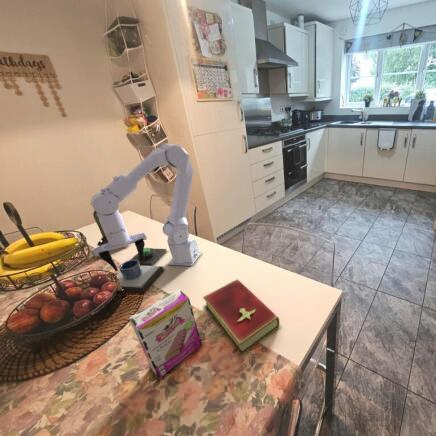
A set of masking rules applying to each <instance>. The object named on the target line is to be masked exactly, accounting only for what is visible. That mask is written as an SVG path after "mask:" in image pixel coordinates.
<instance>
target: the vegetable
mask: <svg viewBox="0 0 436 436" xmlns="http://www.w3.org/2000/svg"><path fill="white" fill-rule="evenodd" d="M92 208H93V210H94V211H92V212H93V213H92V216H93V219H94V221H95V223H96V225H97V227H98V229H99V231H100V234H101V236H102V237H103V236H104V235H105V233H104V231H103V228H102V226H101V224H100V222H99V217H98V216H97V212H96V210H95V209H94V207H93V206H92Z"/></svg>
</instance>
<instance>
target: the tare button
mask: <svg viewBox="0 0 436 436" xmlns="http://www.w3.org/2000/svg"><path fill="white" fill-rule="evenodd" d="M149 248H150V247H144V249H143V255H146V254H148V253H150V249H149Z"/></svg>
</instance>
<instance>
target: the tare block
mask: <svg viewBox="0 0 436 436" xmlns="http://www.w3.org/2000/svg"><path fill="white" fill-rule="evenodd" d="M148 248H149V249H150V253H148V254H146V255H143V260H144V261H141V260H140V258H139V254H138V253H137V254H135V255H134V256H133V257H132V258H130V260H138V261H139V263H140V266H155V264H156V263H158V261H159V260H160V259H161V258H162V257H163V256H164V255H165V254H166V253H167V251H168V250H167V249H166V248H153V247H148Z"/></svg>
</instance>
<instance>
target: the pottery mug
mask: <svg viewBox="0 0 436 436" xmlns="http://www.w3.org/2000/svg"><path fill="white" fill-rule="evenodd" d="M106 243H108V240H107V238H106V235H104V236H102V237H101V238H100V241H98V242H97V247H99V246H101V245H104V244H106ZM128 246H129V245H126V246H124V247H123V248H124V249H126V248H127V247H128Z"/></svg>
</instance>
